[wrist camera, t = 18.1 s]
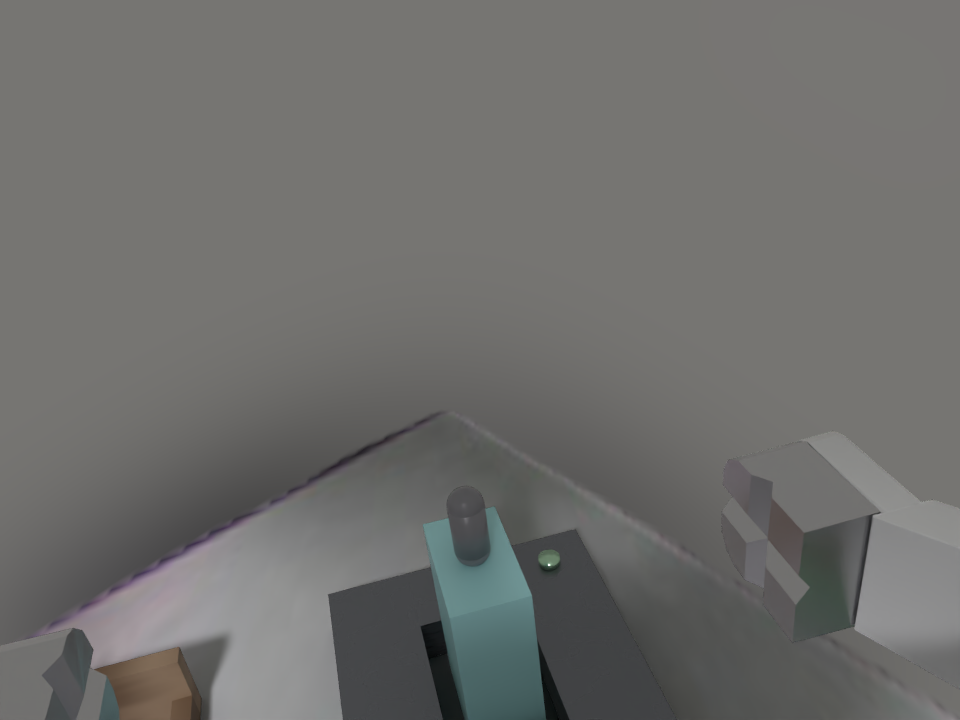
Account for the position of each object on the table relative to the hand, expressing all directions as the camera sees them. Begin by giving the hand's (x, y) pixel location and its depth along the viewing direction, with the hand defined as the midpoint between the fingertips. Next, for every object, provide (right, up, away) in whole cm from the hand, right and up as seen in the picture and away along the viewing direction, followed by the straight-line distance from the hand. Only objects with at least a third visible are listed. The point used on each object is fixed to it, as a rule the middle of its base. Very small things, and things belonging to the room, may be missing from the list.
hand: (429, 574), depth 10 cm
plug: (+2, -15, +31) cm, 34 cm away
